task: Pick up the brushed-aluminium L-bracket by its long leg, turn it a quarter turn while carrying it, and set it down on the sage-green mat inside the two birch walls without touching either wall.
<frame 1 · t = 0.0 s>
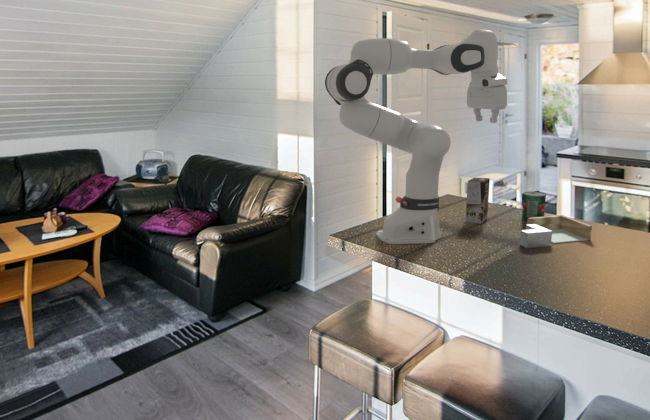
hand: (486, 121, 177), 39 cm above the countertop, tool pointing down, fingers open, 8 cm apart
coffee box: (476, 220, 200), on the countertop
canned tomato: (532, 222, 197), on the countertop
mat: (557, 235, 179), on the countertop
walls: (557, 235, 179), on the countertop
bracket: (537, 242, 172), on the countertop
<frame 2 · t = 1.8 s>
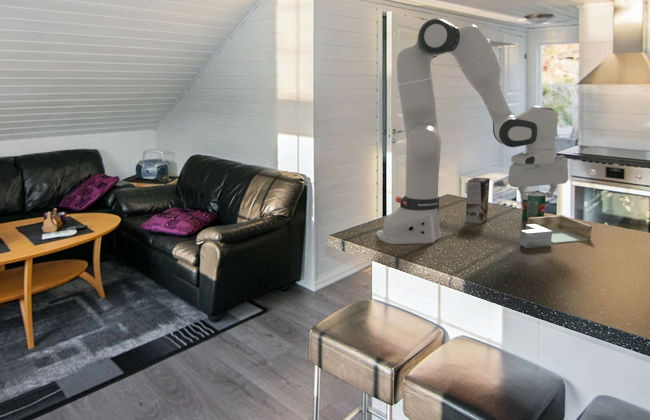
hand: (537, 198, 171), 14 cm above the countertop, tool pointing down, fingers open, 8 cm apart
nothing on the countertop moved.
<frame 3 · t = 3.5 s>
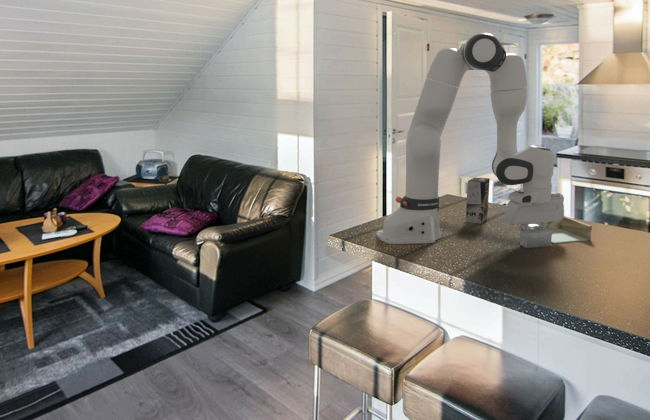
hand: (533, 234, 174), 2 cm above the countertop, tool pointing down, fingers closed on bracket, 3 cm apart
bracket: (537, 242, 172), on the countertop, touching gripper
everything else where it was.
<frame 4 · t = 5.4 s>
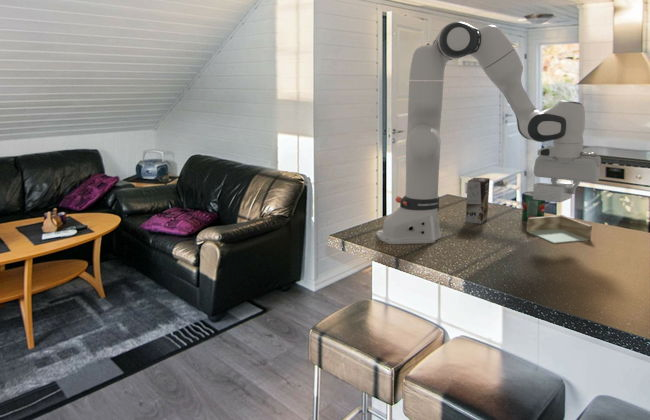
hand: (564, 192, 171), 16 cm above the countertop, tool pointing down, fingers closed on bracket, 3 cm apart
bracket: (560, 199, 170), point 14 cm above the countertop, touching gripper
everything else where it was.
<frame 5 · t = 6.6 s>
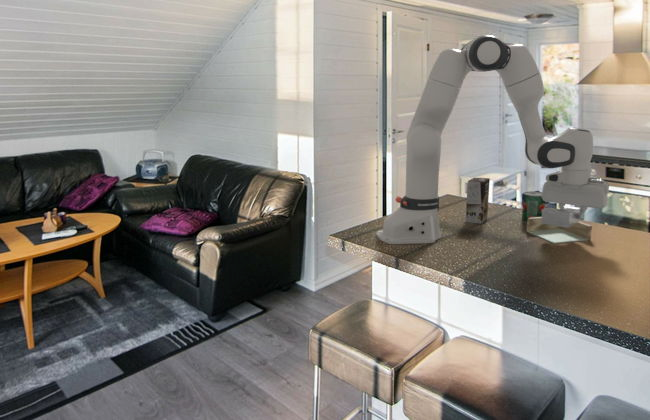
hand: (571, 217, 174), 7 cm above the countertop, tool pointing down, fingers closed on bracket, 3 cm apart
bracket: (568, 224, 173), point 5 cm above the countertop, touching gripper
everything else where it was.
when the fingers open (4 cm above the countertop, at t = 7.3 s): bracket drops 1 cm, resting on mat.
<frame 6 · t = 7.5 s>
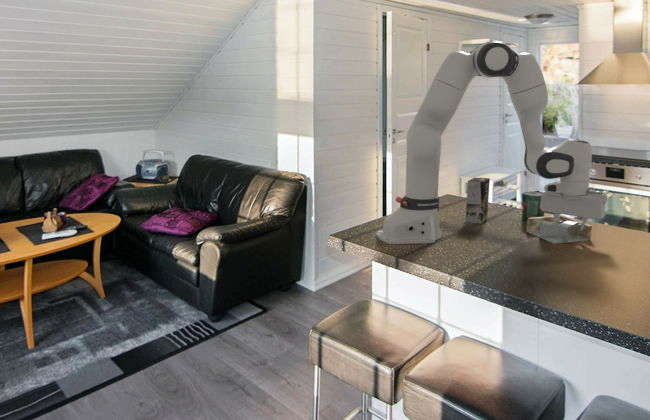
hand: (569, 227, 175), 4 cm above the countertop, tool pointing down, fingers open, 5 cm apart
bracket: (566, 238, 174), resting on mat
everything else where it was.
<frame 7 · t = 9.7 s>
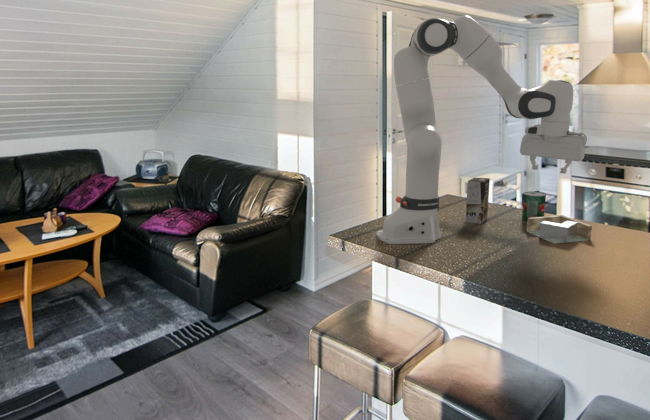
hand: (548, 171, 174), 22 cm above the countertop, tool pointing down, fingers open, 8 cm apart
nothing on the countertop moved.
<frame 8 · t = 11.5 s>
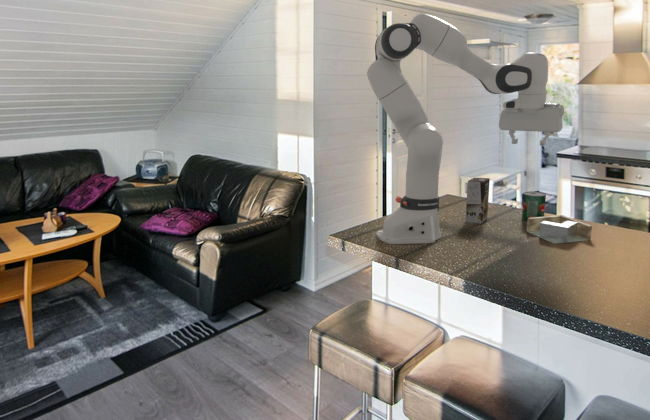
hand: (528, 144, 176), 31 cm above the countertop, tool pointing down, fingers open, 8 cm apart
nothing on the countertop moved.
at the end: bracket 1.3 cm from the target spot, resting on mat; bracket touching mat; bracket tilted 0° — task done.
